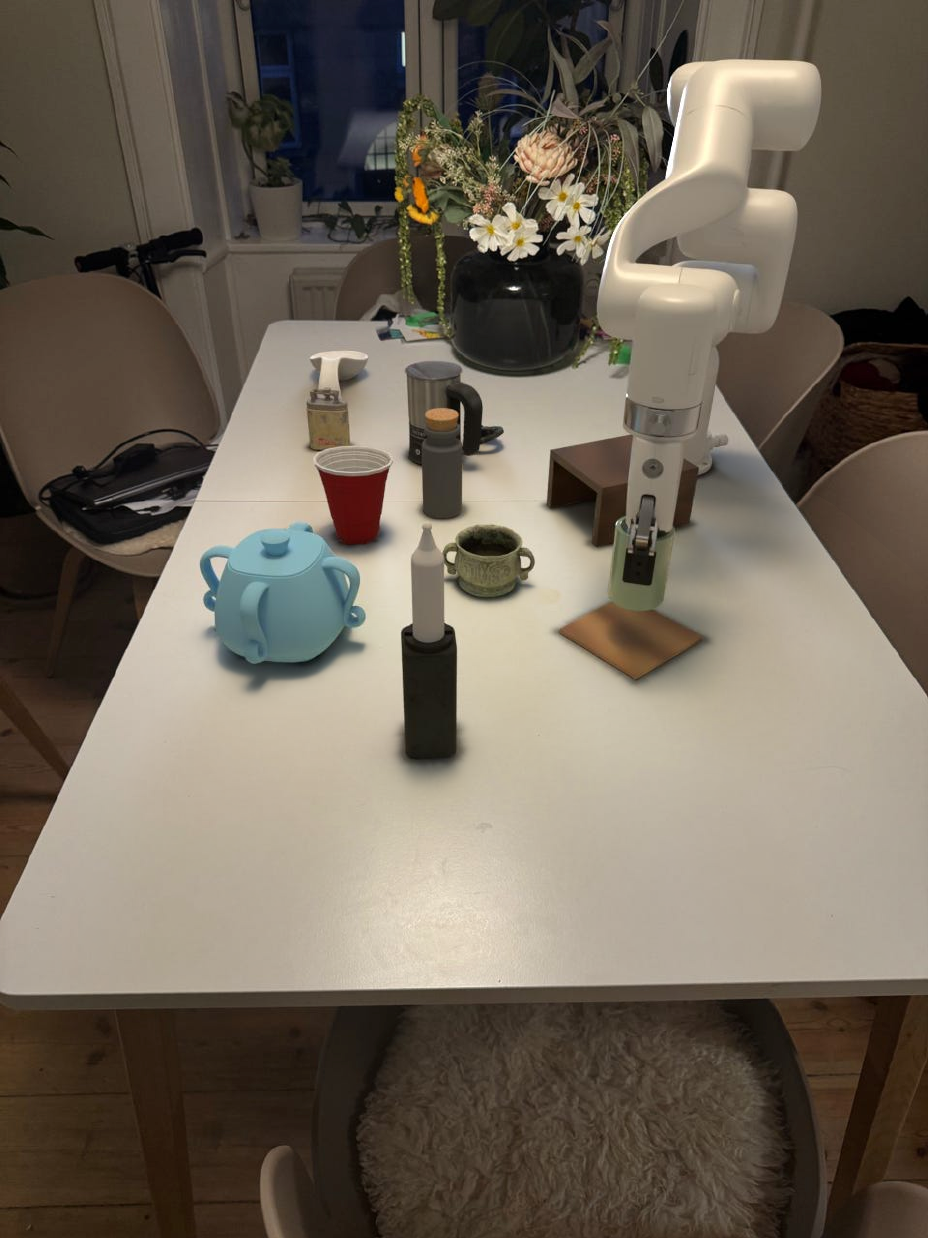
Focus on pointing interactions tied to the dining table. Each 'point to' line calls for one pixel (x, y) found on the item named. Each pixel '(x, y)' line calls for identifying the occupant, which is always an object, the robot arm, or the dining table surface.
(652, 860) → the dining table surface
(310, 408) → the lighter
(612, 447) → the shelf
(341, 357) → the spoon rest
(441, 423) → the bottle
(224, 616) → the decorative pot
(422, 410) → the milk frother
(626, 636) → the coaster
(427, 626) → the candle
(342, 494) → the plastic cup
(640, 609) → the tumbler
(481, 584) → the vessel
